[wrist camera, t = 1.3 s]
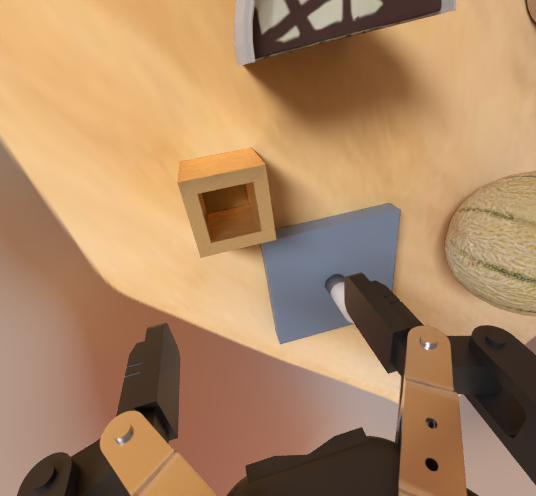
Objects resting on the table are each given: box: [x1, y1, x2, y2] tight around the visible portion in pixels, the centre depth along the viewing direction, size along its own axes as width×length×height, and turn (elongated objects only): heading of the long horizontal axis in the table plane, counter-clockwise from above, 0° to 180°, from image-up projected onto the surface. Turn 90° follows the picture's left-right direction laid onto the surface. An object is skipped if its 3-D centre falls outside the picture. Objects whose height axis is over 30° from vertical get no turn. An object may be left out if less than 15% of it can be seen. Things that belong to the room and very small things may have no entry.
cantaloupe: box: [445, 171, 536, 316], centre depth 30 cm, size 15×15×15 cm
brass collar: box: [178, 148, 276, 258], centre depth 25 cm, size 6×6×6 cm
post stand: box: [260, 203, 400, 344], centre depth 33 cm, size 15×15×8 cm
